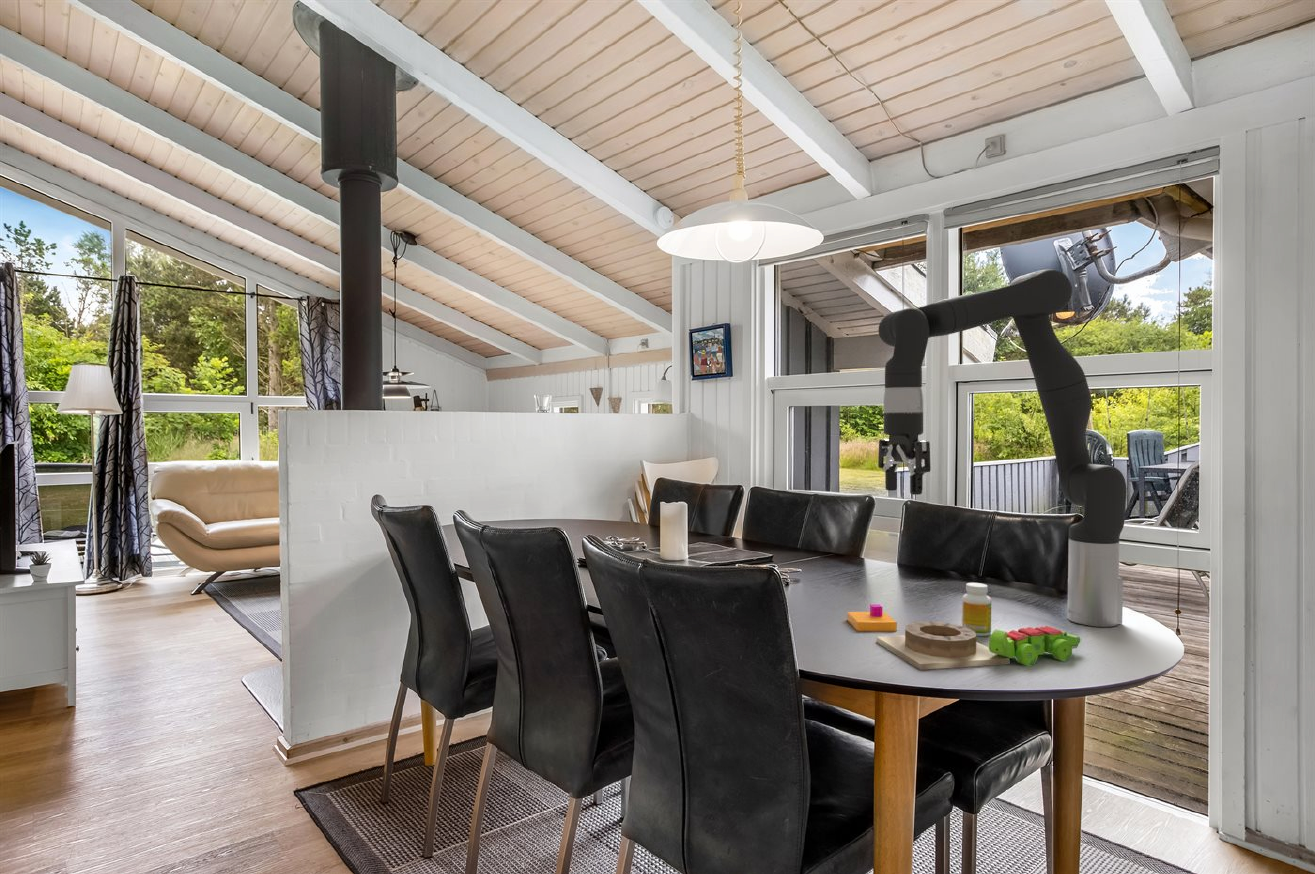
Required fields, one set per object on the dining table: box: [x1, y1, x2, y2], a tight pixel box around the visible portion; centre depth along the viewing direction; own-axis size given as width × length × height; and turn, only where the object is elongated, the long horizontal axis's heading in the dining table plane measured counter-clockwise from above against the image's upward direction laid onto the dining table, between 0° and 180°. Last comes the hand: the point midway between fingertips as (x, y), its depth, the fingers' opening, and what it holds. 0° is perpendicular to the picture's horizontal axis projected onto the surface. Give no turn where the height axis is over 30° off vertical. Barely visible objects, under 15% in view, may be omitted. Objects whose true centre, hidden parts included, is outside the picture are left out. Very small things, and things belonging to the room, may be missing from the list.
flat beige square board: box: [875, 634, 1011, 671], centre depth 136 cm, size 17×16×1 cm
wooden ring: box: [904, 621, 977, 658], centre depth 136 cm, size 12×12×3 cm
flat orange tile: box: [846, 604, 898, 632], centre depth 154 cm, size 8×8×4 cm
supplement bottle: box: [961, 582, 992, 637], centre depth 149 cm, size 5×5×10 cm
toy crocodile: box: [988, 625, 1081, 667], centre depth 133 cm, size 20×7×6 cm, turn 109°
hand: (903, 492), depth 148 cm, fingers open, 8 cm apart
